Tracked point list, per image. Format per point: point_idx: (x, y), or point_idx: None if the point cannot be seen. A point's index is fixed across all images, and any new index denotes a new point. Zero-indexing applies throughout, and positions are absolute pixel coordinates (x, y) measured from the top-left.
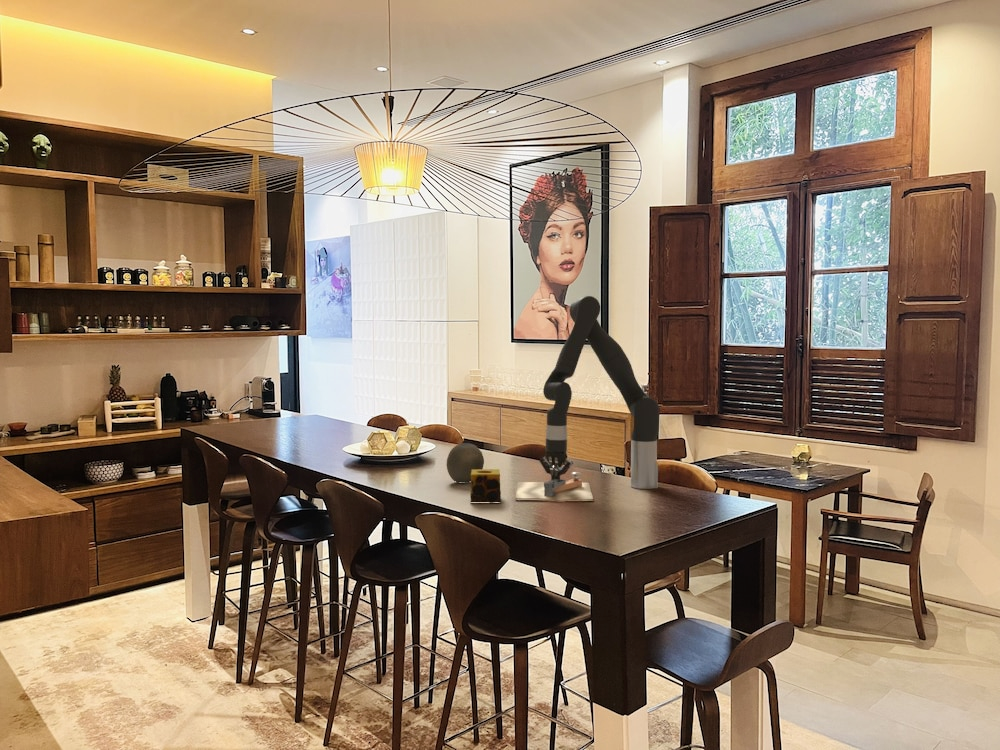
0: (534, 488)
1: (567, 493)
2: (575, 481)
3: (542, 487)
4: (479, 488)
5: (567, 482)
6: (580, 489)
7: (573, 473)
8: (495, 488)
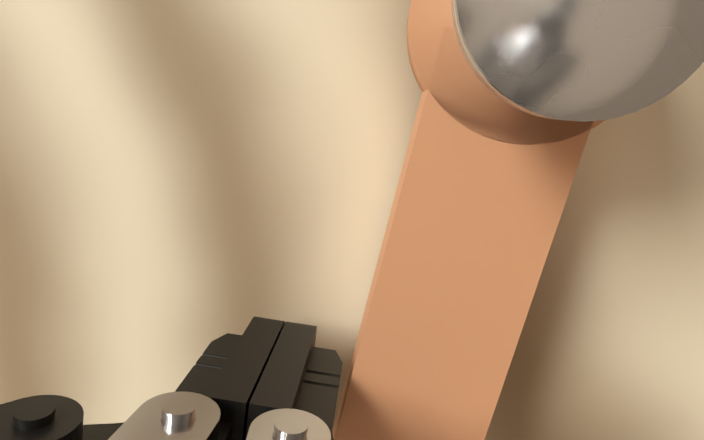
0: (27, 392)
1: None
2: (567, 152)
3: (81, 293)
4: None
5: (454, 302)
6: (638, 210)
7: (559, 118)
8: None
